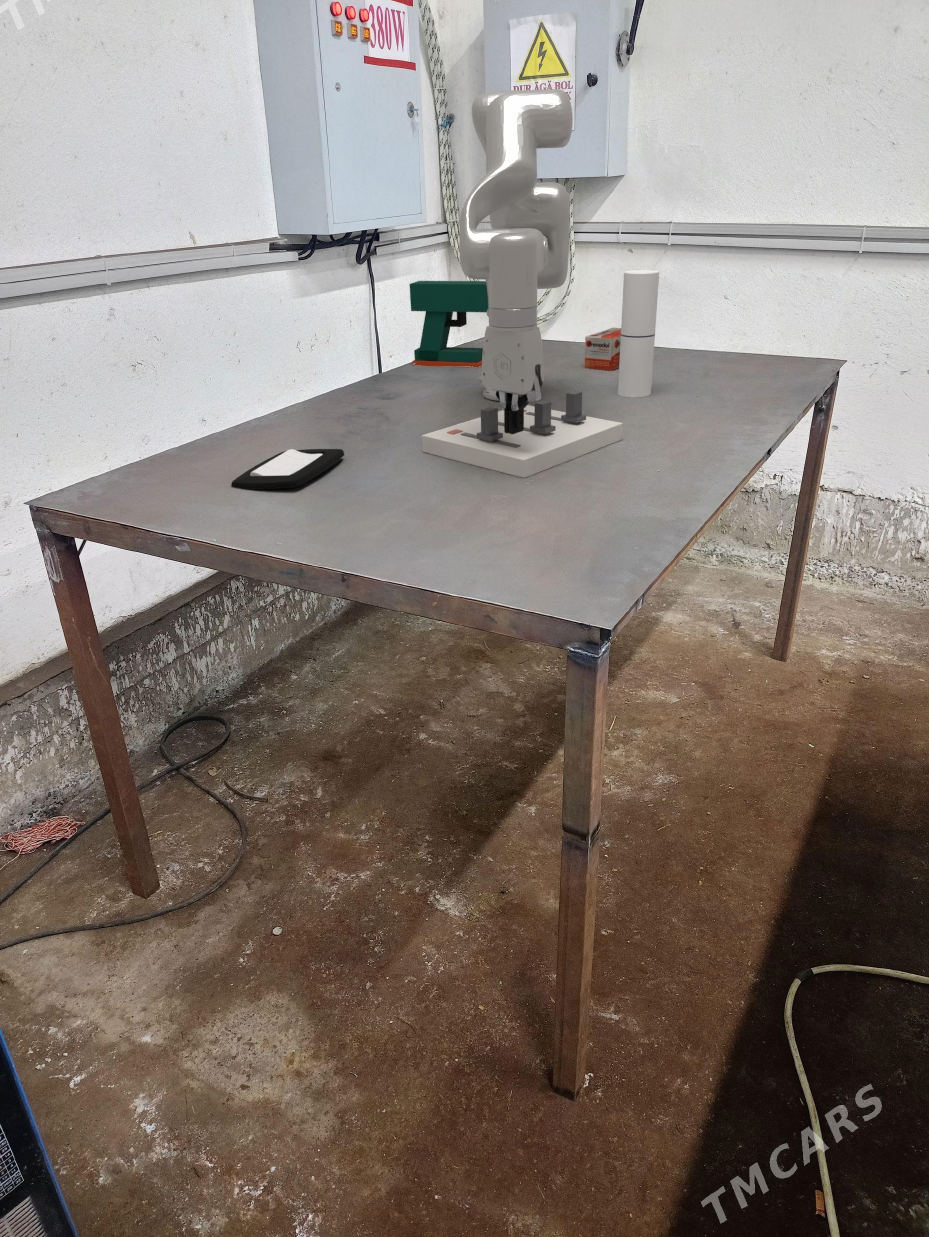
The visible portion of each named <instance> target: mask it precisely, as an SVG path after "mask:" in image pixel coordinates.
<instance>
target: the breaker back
mask: <svg viewBox="0 0 929 1237" xmlns="http://www.w3.org/2000/svg"><path fill="white" fill-rule="evenodd" d="M565 394H566V396H565V412H566V414H565V415H562V416H561V420H564V421H569V422H574V423H578V422H581V421H584V420H586V416H587V415H586V414H583V413H582V411H583V410H582V409H583V391H579V390H572V391H569V392H566V393H565Z"/></svg>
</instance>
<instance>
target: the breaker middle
mask: <svg viewBox="0 0 929 1237" xmlns="http://www.w3.org/2000/svg"><path fill="white" fill-rule="evenodd" d="M534 406H535V417H534V425H532V426H530V431H534V432H538V433H543V434H547V433H550V432H553V431H556V426H553V425H551V410H552V401H549V400H538V401H535V402H534Z"/></svg>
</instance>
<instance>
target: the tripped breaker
mask: <svg viewBox="0 0 929 1237" xmlns="http://www.w3.org/2000/svg"><path fill="white" fill-rule="evenodd" d="M498 412H499V408H497V407H494V406H493V407H492V406H489V407H485V408H482V409H480V417H481V432H479V433H477V438H480V439H484V440H489V441H494V440H497V439H500V438H503V433H500V432H498Z"/></svg>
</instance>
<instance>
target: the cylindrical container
mask: <svg viewBox="0 0 929 1237" xmlns="http://www.w3.org/2000/svg"><path fill="white" fill-rule="evenodd" d="M659 279H660V271H659V270H655V269H652V270H651V269H636V270H635V269H632V270H625V271H624V272H623V282H622V283H623V284H622V286H623V288H622V307H621V308H622V309H621V324H620V325H621V326H620V328H621V343H620V363H619V368H618V381H617V382H618V386H617V395H618V396H620V397H624V398H631V399H632V398H633V399H634V398H635V399H636V398H637V399H638V398H646V397H649V396H651V394H652V384H653V372H654V371H653V368H654V355H655V341H656V339H655V338H656V324H657V311H658V310H657V309H658V307H657V306H658V297H659V296H658V294H659V281H660V280H659Z"/></svg>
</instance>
